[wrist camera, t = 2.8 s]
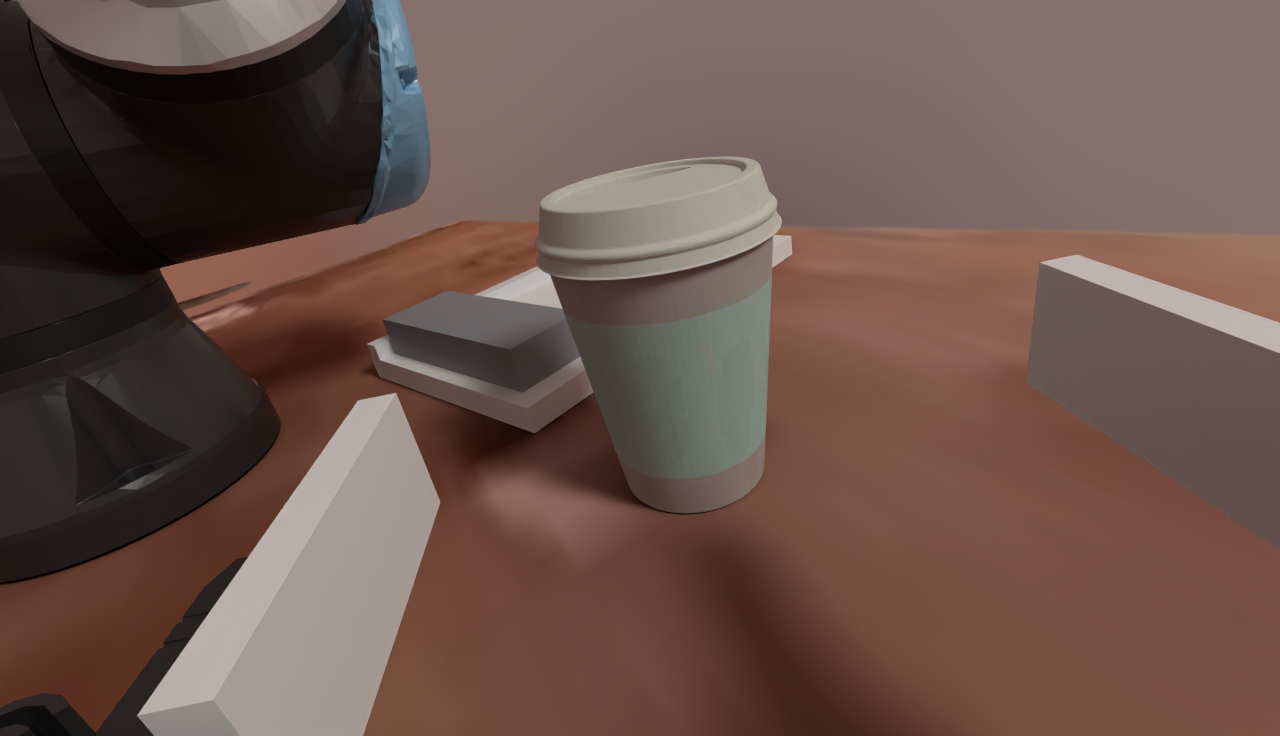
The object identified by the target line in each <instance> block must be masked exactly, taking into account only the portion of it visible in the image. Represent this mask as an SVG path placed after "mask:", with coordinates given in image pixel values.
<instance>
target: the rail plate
mask: <svg viewBox="0 0 1280 736" xmlns="http://www.w3.org/2000/svg"><path fill="white" fill-rule="evenodd" d="M790 255H792V243H791V236H781V235H773V254H772V268H773V267H774V266H776V265H777V264H779V263H780V262H782V261H783V260H784V259H786V258H787V257H789V256H790ZM382 320H383V322H384V325H385V327H386V330H387V332H388V335H386V336H384V337H381V338H379V339H377V340H375V341H373V342H370V343H368V344H367V345H368V348H369V350H370V353H371V355H372V357H371V358H372V360H373V363H374V365H375V368H376V370H377V372H378V375H379V377H381V378H383V379H386V380H389V381H392V382H394V383H397V384H400V385H403V386H405V387H408V388H411V389H414V390H416V391H419V392H422V393H425V394H427V395H430V396H433V397H436V398H438V399H441V400H444V401H447V402H449V403H452V404H455V405H458V406H460V407H463V408H466V409H469V410H471V411H474V412H477V413H480V414H483V415H485V416H488V417H491V418H494V419H496V420H499V421H502V422H505V423H507V424H510V425H513V426H516V427H518V428H521V429H524V430H527V431H529V432H532V433H536V432H537V431H539V430H540V429H542V428H543V427H545V426H546V425H547V424H549V423H550V422H552V421H553V420H555V419H556V418H557V417H559V416H560V415H562V414H563V413H565V412H566V411H567V410H569V409H570V408H572V407H573V406H575V405H576V404H578V403H579V402H580V401H582V400H583V399H585V398H586V397H588V396H589V395H590V394H592V393H593V389H592V387H591V384H590V381H589V379H588V376H587V373H586V371H585V368H584V365H583V363H582V360H581V357H580V354H579V352H578V349H577V346H576V344H575V341H574V338H573V336H572V333H571V330H570V328H569V325H568V322H567V320H566V317H565V314H564V312H563V309H562V306H561V303H560V301H559V298H558V295H557V292H556V290H555V287H554V284H553V281H552V279H551V276H550V274H547V273H545V272H543V271H542V270H541V269H539V267H538V266H537V267H535V268H532V269H530V270H528V271H526V272H524V273H521V274H519V275H517V276H515V277H513V278H511V279H508V280H506V281H504V282H502V283H500V284H497V285H495V286H493V287H491V288H489V289H486V290H484V291H482V292H480V293H478V294H476V295H471V294H465V293H458V292H452V291H446V292H444V293H441V294H439V295H437V296H435V297H432V298H430V299H428V300H425V301H423V302H421V303H419V304H416V305H414V306H412V307H409V308H407V309H405V310H402V311H400V312H398V313H396V314H393V315H391V316H389V317H386V318H384V319H382Z"/></svg>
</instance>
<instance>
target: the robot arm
mask: <svg viewBox="0 0 1280 736" xmlns="http://www.w3.org/2000/svg"><path fill="white" fill-rule="evenodd" d="M417 75H418V74H417V68H416V61H415V54H414V49H413V45H412V41H411V37H410V33H409V30H408V26H407V23H406V19H405V16H404V13H403V10H402V7H401V4H400V1H399V0H17V1H16V0H0V582H8V581H14V580H19V579H24V578H28V577H33V576H37V575H40V574H44V573H48V572H51V571H55V570H58V569H61V568H64V567H67V566H70V565H73V564H76V563H79V562H82V561H85V560H87V559H90V558H93V557H95V556H98V555H100V554H103V553H105V552H108V551H110V550H112V549H115V548H117V547H120V546H122V545H124V544H126V543H129V542H131V541H133V540H135V539H137V538H139V537H141V536H144V535H146V534H148V533H150V532H152V531H154V530H156V529H158V528H160V527H162V526H163V525H165V524H167V523H169V522H171V521H173V520H175V519H176V518H178V517H180V516H182V515H183V514H185V513H187V512H189V511H190V510H192V509H194V508H195V507H197V506H199V505H200V504H202V503H203V502H205V501H207V500H208V499H210V498H211V497H213V496H214V495H216V494H217V493H219V492H220V491H221V490H223V489H224V488H226V487H227V486H228V485H230V484H231V483H233V482H234V481H235V480H236V479H238V478H239V477H240V476H241V475H243V474H244V473H245V472H246V471H247V470H249V469H250V468H251V467H252V466H253V465H254V464H255V463H256V462H257V461H258V460H259V459H260V458H261V457H262V456H263V455H264V454H265V453H266V452H267V451H268V449H269V448H270V447H271V445H272V444H273V442H274V441H275V439H276V437H277V435H278V433H279V430H280V418H279V416H278V414H277V412H276V411H275V409H274V407H273V405H272V403H271V401H270V399H269V397H268V395H267V393H266V391H265V390H264V389H263V387H262V386H261V385H260V384H259V383H258V382H257V381H256V380H255V379H253V378H251V377H249V376H248V375H247V374H246V373H245V372H244V371H243V370H242V369H241V368H240V367H239V366H238V364H237V363H236V362H235V361H234V360H233V359H232V358H231V357H229V356H228V355H227V354H226V353H225V352H224V351H223V350H222V349H221V348H220V347H219V346H218V345H217V344H216V343H215V342H214V341H213V340H212V339H211V338H210V337H209V336H208V335H206V334H205V333H204V332H203V331H202V330H201V329H200V328H199V327H198V326H197V325H196V324H194V323H193V322H192V321H191V320H190V319H189V318H188V317H187V316H186V315H185V313H184V312H183V311H182V309H181V308H180V306H179V304H178V302H177V301H176V299H175V297H174V295H173V293H172V292H171V290H170V288H169V286H168V284H167V283H166V281H165V279H164V277H163V276H162V274H161V271H160V268H162V267H166V266H170V265H174V264H178V263H184V262H187V261H191V260H196V259H200V258H204V257H209V256H213V255H218V254H222V253H227V252H232V251H236V250H240V249H245V248H249V247H254V246H258V245H263V244H267V243H272V242H276V241H281V240H284V239H289V238H294V237H298V236H303V235H307V234H312V233H316V232H321V231H325V230H329V229H334V228H338V227H343V226H347V225H353V224H356V225H358V224H362V223H365V222H366V221H368V220H369V219H371V217H374V216H378V215H380V214H384V213H387V212H390V211H394V210H397V209H400V208H404V207H406V206H409V205H410V204H413V203H414V202H416V201H417V200H418V199H419V198H420V196H421V195H422V194H423V193H424V191H425V189H426V186H427V184H428V181H429V175H430V161H431V160H430V141H429V131H428V122H427V115H426V109H425V103H424V98H423V93H422V90H421V87H420V85H419V83H418V81H417ZM1026 383H1027V384H1029V385H1030V386H1032V387H1033V388H1035V389H1036V390H1038V391H1039V392H1041V393H1042V394H1044V395H1046V396H1047V397H1049V398H1050V399H1052V400H1053V401H1055V402H1056V403H1058V404H1059V405H1061V406H1062V407H1064V408H1065V409H1067V410H1068V411H1070V412H1071V413H1073V414H1074V415H1076V416H1077V417H1079V418H1080V419H1082V420H1083V421H1085V422H1086V423H1088V424H1090V425H1091V426H1093V427H1094V428H1096V429H1097V430H1099V431H1100V432H1102V433H1103V434H1105V435H1106V436H1108V437H1109V438H1111V439H1112V440H1114V441H1115V442H1117V443H1118V444H1120V445H1121V446H1123V447H1124V448H1126V449H1127V450H1129V451H1130V452H1132V453H1133V454H1135V455H1137V456H1138V457H1140V458H1141V459H1143V460H1144V461H1146V462H1147V463H1149V464H1150V465H1152V466H1153V467H1155V468H1156V469H1158V470H1159V471H1161V472H1162V473H1164V474H1165V475H1167V476H1168V477H1170V478H1171V479H1173V480H1174V481H1176V482H1177V483H1179V484H1180V485H1182V486H1184V487H1185V488H1187V489H1188V490H1190V491H1191V492H1193V493H1194V494H1196V495H1197V496H1199V497H1200V498H1202V499H1203V500H1205V501H1206V502H1208V503H1209V504H1211V505H1212V506H1214V507H1215V508H1217V509H1218V510H1220V511H1221V512H1223V513H1224V514H1226V515H1227V516H1229V517H1231V518H1232V519H1234V520H1235V521H1237V522H1238V523H1240V524H1241V525H1243V526H1244V527H1246V528H1247V529H1249V530H1250V531H1252V532H1253V533H1255V534H1256V535H1258V536H1259V537H1261V538H1262V539H1264V540H1265V541H1267V542H1268V543H1270V544H1271V545H1273V546H1274V547H1276V548H1278V549H1279V550H1280V323H1279V322H1276V321H1273V320H1270V319H1267V318H1264V317H1261V316H1258V315H1255V314H1252V313H1249V312H1246V311H1243V310H1240V309H1237V308H1234V307H1231V306H1228V305H1225V304H1222V303H1219V302H1216V301H1213V300H1210V299H1207V298H1204V297H1201V296H1198V295H1195V294H1192V293H1189V292H1186V291H1183V290H1180V289H1177V288H1174V287H1171V286H1168V285H1165V284H1163V283H1160V282H1157V281H1154V280H1151V279H1148V278H1145V277H1142V276H1139V275H1136V274H1133V273H1130V272H1127V271H1124V270H1121V269H1118V268H1115V267H1112V266H1109V265H1106V264H1103V263H1100V262H1097V261H1094V260H1091V259H1088V258H1085V257H1082V256H1079V255H1073V256H1068V257H1064V258H1059V259H1054V260H1049V261H1044V262H1040V265H1039V273H1038V282H1037V291H1036V299H1035V308H1034V317H1033V325H1032V334H1031V343H1030V352H1029V360H1028V369H1027V378H1026ZM439 505H440V500H439V498H438V495H437V493H436V490H435V488H434V485H433V483H432V480H431V478H430V476H429V473H428V471H427V468H426V466H425V463H424V461H423V458H422V456H421V453H420V451H419V448H418V446H417V443H416V441H415V439H414V436H413V434H412V431H411V429H410V426H409V424H408V421H407V419H406V416H405V414H404V411H403V409H402V406H401V404H400V402H399V399H398V397H397V394H396V393H393V394H388V395H383V396H378V397H373V398H369V399H364V400H359V401H357V403H356V404H355V406H354V407H353V409H352V410H351V411H350V413H349V414H348V416H347V417H346V419H345V420H344V421H343V423H342V424H341V426H340V427H339V429H338V430H337V431H336V433H335V434H334V436H333V437H332V439H331V440H330V441H329V443H328V444H327V446H326V447H325V449H324V450H323V451H322V453H321V454H320V456H319V457H318V458H317V460H316V461H315V463H314V464H313V466H312V467H311V468H310V470H309V471H308V473H307V474H306V476H305V477H304V478H303V480H302V481H301V483H300V484H299V486H298V487H297V488H296V490H295V491H294V493H293V494H292V496H291V497H290V498H289V500H288V501H287V503H286V504H285V506H284V507H283V508H282V510H281V511H280V513H279V514H278V515H277V517H276V518H275V520H274V521H273V523H272V524H271V525H270V527H269V528H268V530H267V531H266V533H265V534H264V535H263V537H262V538H261V540H260V541H259V543H258V544H257V545H256V547H255V548H254V550H253V551H252V553H251V554H250V555H249V557H245V558H240V559H236V560H235V561H234V562H233V563H232V564H231V565H230V566H228V567H227V568H226V569H225V570H224V571H223V572H221V573H220V574H219V575H218V576H217V577H216V578H215V579H213V580H212V581H211V582H210V583H209V584H208V585H207V586H205V587H204V589H203V590H202V591H201V593H200V594H199V595H198V597H197V598H196V599H195V601H194V602H193V603H192V605H191V606H190V608H189V609H188V610H187V612H186V613H185V614H184V616H183V622H181V623H178V624H177V625H176V626H175V628H174V629H173V630H172V632H171V633H170V634H169V636H168V637H167V638H166V640H165V641H164V642H163V643H164V647H163V648H161V649H158V650H157V652H156V653H155V654H154V656H153V657H152V658H151V660H150V661H149V662H148V664H147V665H146V666H145V668H144V669H143V670H142V672H141V673H140V674H139V676H138V677H137V678H136V680H135V681H134V682H133V684H132V685H131V687H130V688H129V689H128V691H127V692H126V693H125V695H124V696H123V697H122V699H121V700H120V701H119V703H118V704H117V705H116V707H115V708H114V709H113V711H112V712H111V713H110V715H109V716H108V717H107V719H106V720H105V721H104V723H103V724H102V725H101V727H100V728H99V729H98V731H97V732H96V733H95V732H94V731H93V730H92V729H91V728H90V726H89V725H88V724H87V723H86V722H85V721H84V720H83V719H82V718H81V717H80V715H79V714H78V713H77V712H76V711H75V710H74V709H73V708H72V707H71V706H70V704H69V703H68V702H67V701H66V700H65V699H64V698H63V697H62V696H61V695H56V694H38V695H35V696H31V697H28V698H24V699H21V700H17V701H14V702H12V703H10V704H8V705H6V706H4V707H2V708H0V736H363V734H364V731H365V728H366V725H367V722H368V719H369V716H370V713H371V710H372V707H373V704H374V701H375V698H376V695H377V692H378V689H379V686H380V683H381V680H382V677H383V674H384V671H385V668H386V665H387V662H388V659H389V656H390V653H391V650H392V647H393V644H394V641H395V638H396V634H397V631H398V628H399V625H400V622H401V619H402V616H403V613H404V610H405V607H406V604H407V601H408V598H409V595H410V592H411V589H412V586H413V583H414V580H415V577H416V574H417V571H418V568H419V565H420V562H421V559H422V556H423V553H424V550H425V547H426V544H427V541H428V538H429V535H430V532H431V529H432V526H433V523H434V520H435V517H436V514H437V511H438V508H439Z"/></svg>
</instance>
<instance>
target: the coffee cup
mask: <svg viewBox="0 0 1280 736" xmlns="http://www.w3.org/2000/svg"><path fill="white" fill-rule="evenodd" d="M776 208H777V201H776V198H775V197H774V196H773V195H772V194H771V193H769V190H768V187H767V184H766V181H765V179H764V176H763V173H762V170H761V167H760V165H759V163H758V162H756V161H755V160H752V159H748V158H741V157H705V158H694V159H684V160H676V161H669V162H662V163H655V164H650V165H644V166H639V167H634V168H629V169H624V170H620V171H616V172H611V173H607V174H603V175H600V176H596V177H593V178H589V179H586V180H583V181H580V182H577V183H574V184H571V185H568V186H566V187H564V188H561V189H559V190H556V191H554V192H553V193H551V194H549V195H547V196H546V197H545V198H543V200H542V201H541V202H540V214H539V235H538V236H537V238H536V242H535V245H536V248H537V250H538V251H539V256H538V258H537V266H538V267H539V269H541V270H542V271H543V272H545V273H547V274H550V276H551V279H552V281H553V284H554V287H555V290H556V292H557V295H558V298H559V301H560V303H561V306H562V309H563V312H564V314H565V317H566V320H567V322H568V325H569V328H570V330H571V333H572V336H573V338H574V341H575V344H576V346H577V349H578V352H579V354H580V357H581V360H582V363H583V365H584V368H585V371H586V373H587V376H588V379H589V381H590V384H591V387H592V389H593V392H594V395H595V397H596V400H597V403H598V405H599V408H600V411H601V413H602V416H603V419H604V421H605V424H606V427H607V430H608V432H609V435H610V438H611V440H612V443H613V446H614V448H615V451H616V453H617V456H618V459H619V461H620V464H621V467H622V469H623V472H624V474H625V477H626V480H627V482H628V485H629V487H630V489H631V491H632V493H633V494H634V495H635V496H636V497H637V498H638V499H639V500H640V501H642V502H643V503H645V504H647V505H649V506H651V507H653V508H656V509H659V510H663V511H667V512H673V513H699V512H706V511H710V510H715V509H718V508H721V507H724V506H726V505H729V504H731V503H733V502H735V501H737V500H739V499H740V498H742V497H743V496H745V495H746V494H747V493H749V492H750V491H751V490H752V489H753V488H754V487H755V486H756V484H757V483H758V481H759V480H760V478H761V476H762V473H763V470H764V455H765V433H766V410H767V385H768V360H769V334H770V309H771V284H772V254H773V235H774V234H775V233H776V232H777V231H778V230H779V228H780V227H781V224H782V220H781V217H780V216H779V215H778V214H777V211H776Z"/></svg>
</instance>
